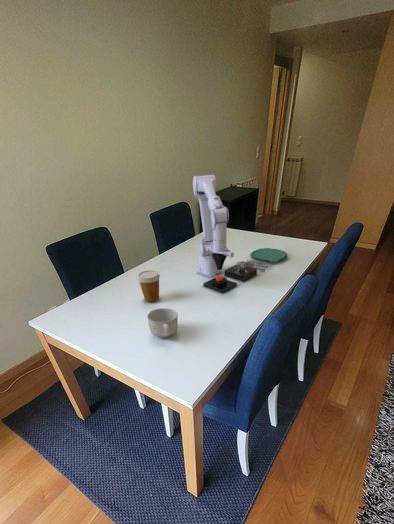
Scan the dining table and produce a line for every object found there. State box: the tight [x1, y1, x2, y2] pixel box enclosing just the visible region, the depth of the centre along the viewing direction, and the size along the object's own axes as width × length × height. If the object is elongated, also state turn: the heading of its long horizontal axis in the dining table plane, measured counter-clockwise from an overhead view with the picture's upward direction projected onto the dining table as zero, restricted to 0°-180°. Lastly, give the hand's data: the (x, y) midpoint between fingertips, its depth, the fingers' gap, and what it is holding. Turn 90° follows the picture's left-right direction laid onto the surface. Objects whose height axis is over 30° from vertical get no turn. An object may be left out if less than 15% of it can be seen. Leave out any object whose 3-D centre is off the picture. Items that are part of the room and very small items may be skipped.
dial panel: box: [223, 264, 258, 283], centre depth 146 cm, size 12×11×3 cm
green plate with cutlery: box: [244, 247, 288, 272], centre depth 161 cm, size 20×30×2 cm, turn 141°
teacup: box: [146, 307, 179, 338], centre depth 105 cm, size 14×11×8 cm
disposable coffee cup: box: [136, 269, 161, 304], centre depth 127 cm, size 10×10×12 cm
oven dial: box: [236, 260, 246, 271], centre depth 144 cm, size 4×4×4 cm
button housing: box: [202, 276, 237, 294], centre depth 137 cm, size 12×10×4 cm
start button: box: [215, 274, 225, 281], centre depth 136 cm, size 4×4×2 cm
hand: (219, 269), depth 133 cm, fingers closed
